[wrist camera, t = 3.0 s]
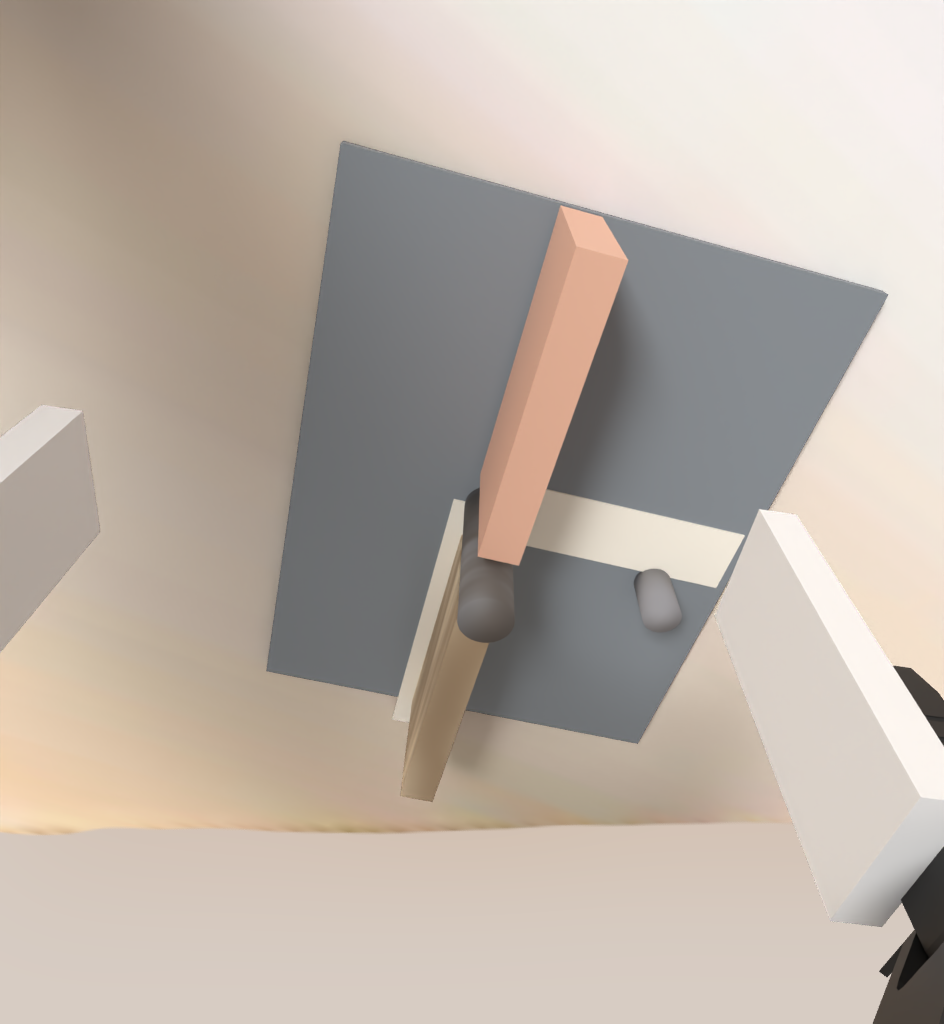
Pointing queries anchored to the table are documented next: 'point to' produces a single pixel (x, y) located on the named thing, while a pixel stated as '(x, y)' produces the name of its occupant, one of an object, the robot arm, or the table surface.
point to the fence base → (455, 655)
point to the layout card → (583, 456)
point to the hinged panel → (547, 378)
